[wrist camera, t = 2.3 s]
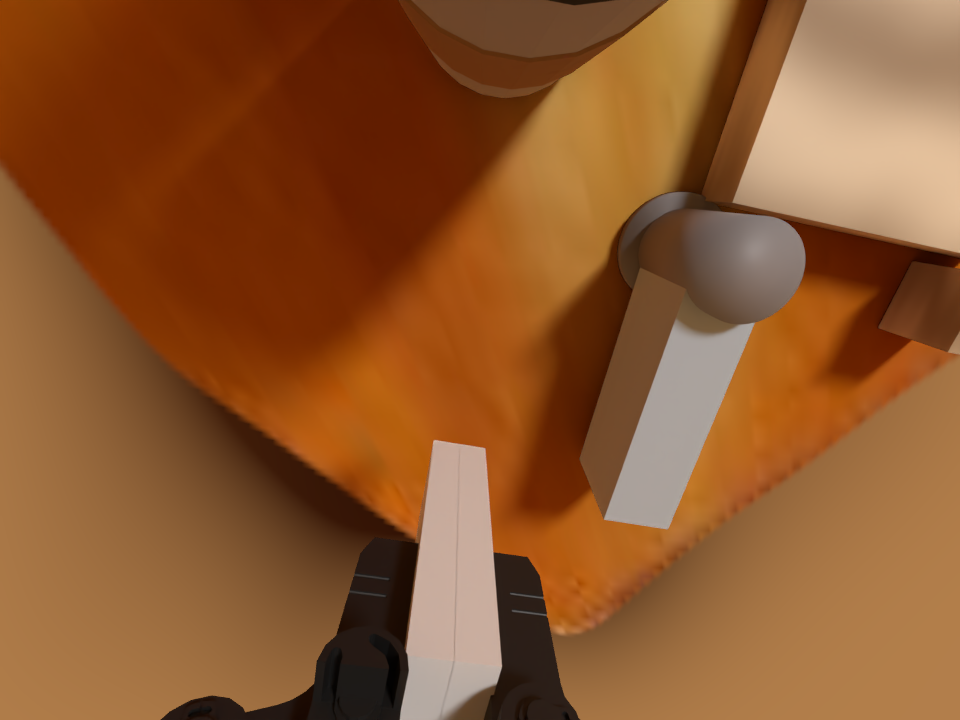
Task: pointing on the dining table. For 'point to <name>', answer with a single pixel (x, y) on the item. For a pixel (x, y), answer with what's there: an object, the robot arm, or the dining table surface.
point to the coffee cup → (520, 38)
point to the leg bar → (682, 352)
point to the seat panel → (847, 142)
